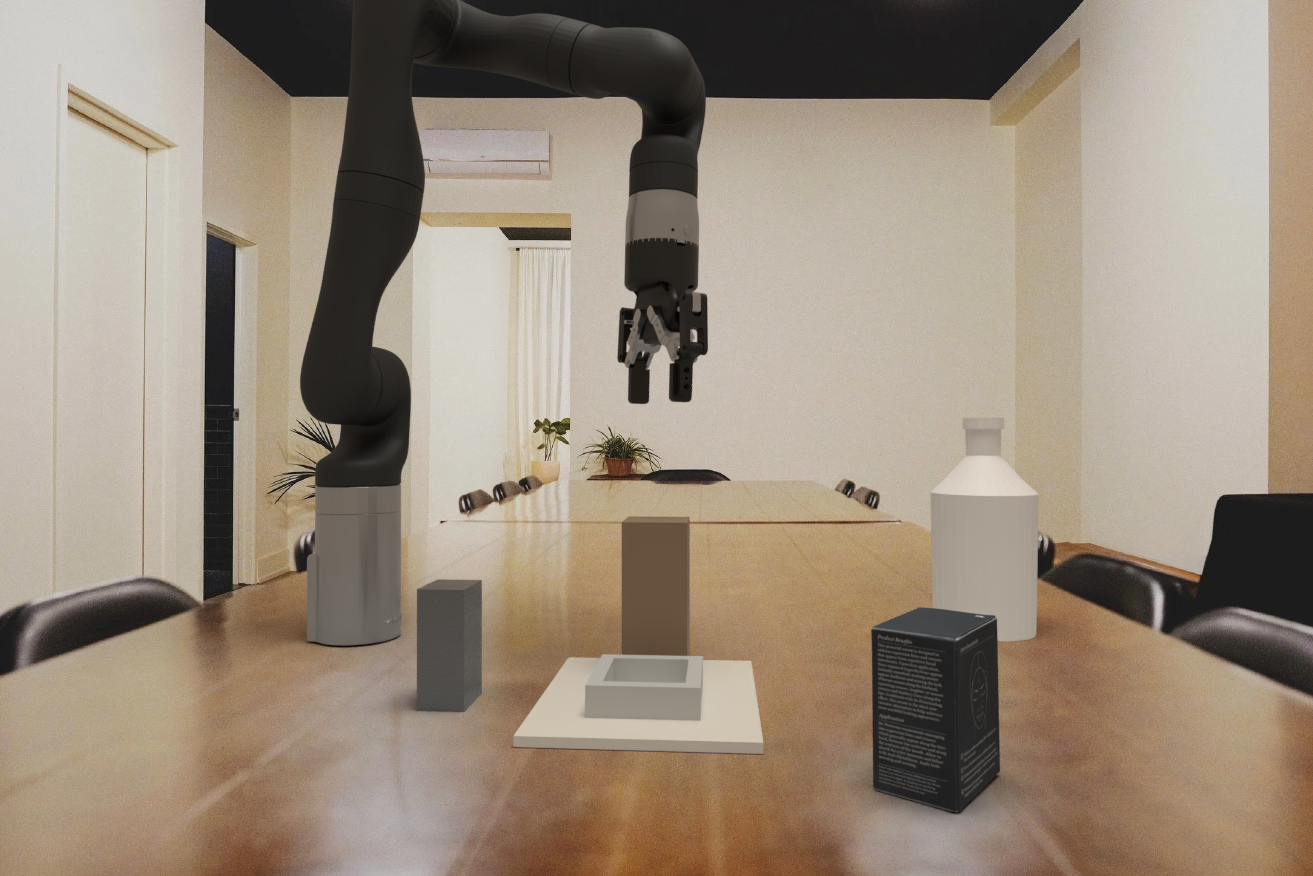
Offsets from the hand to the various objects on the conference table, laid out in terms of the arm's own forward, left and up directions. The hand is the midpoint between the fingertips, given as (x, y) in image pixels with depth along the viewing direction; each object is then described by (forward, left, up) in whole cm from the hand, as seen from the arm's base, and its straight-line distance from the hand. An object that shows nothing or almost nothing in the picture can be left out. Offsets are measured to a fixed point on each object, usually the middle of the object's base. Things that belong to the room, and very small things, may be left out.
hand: (658, 402), depth 84 cm
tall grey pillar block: (-17, -15, -26) cm, 34 cm away
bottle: (+37, +16, -26) cm, 48 cm away
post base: (0, -14, -26) cm, 30 cm away
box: (+20, -29, -26) cm, 44 cm away
